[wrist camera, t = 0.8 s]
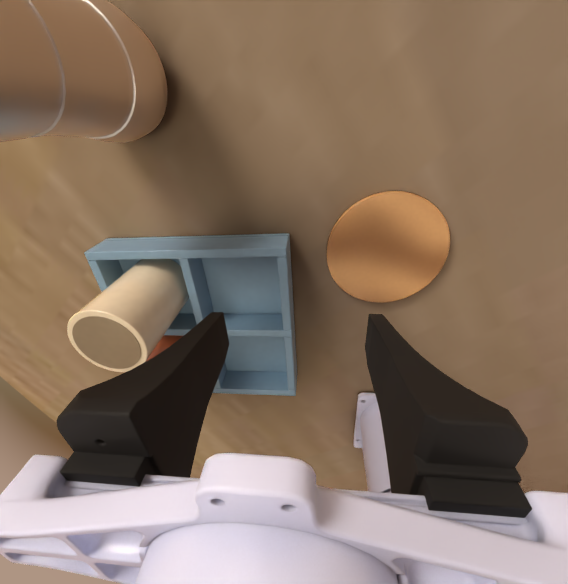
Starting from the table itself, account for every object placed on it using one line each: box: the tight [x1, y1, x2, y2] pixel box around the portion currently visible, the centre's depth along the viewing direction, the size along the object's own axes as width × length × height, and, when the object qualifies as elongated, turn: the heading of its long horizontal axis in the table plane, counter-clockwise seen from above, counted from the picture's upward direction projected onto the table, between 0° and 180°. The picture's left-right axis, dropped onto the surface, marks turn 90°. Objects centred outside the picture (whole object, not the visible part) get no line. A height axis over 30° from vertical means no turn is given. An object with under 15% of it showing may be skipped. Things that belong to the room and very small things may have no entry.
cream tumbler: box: [67, 259, 189, 372], centre depth 22 cm, size 5×5×8 cm
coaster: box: [326, 191, 450, 302], centre depth 22 cm, size 9×9×1 cm
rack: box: [84, 233, 297, 396], centre depth 26 cm, size 15×15×3 cm
